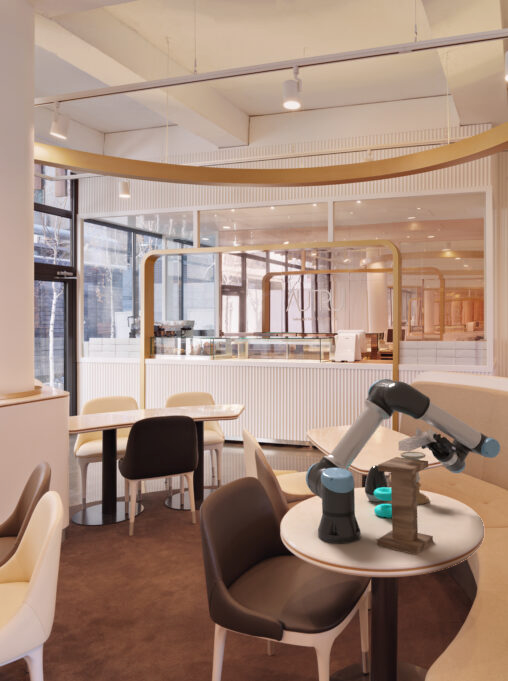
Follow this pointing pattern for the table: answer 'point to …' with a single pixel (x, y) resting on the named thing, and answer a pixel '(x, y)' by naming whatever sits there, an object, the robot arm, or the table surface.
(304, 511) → the table surface
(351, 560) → the table surface
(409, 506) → the stand
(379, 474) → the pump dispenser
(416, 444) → the grey block
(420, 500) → the candle holder
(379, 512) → the donuts
